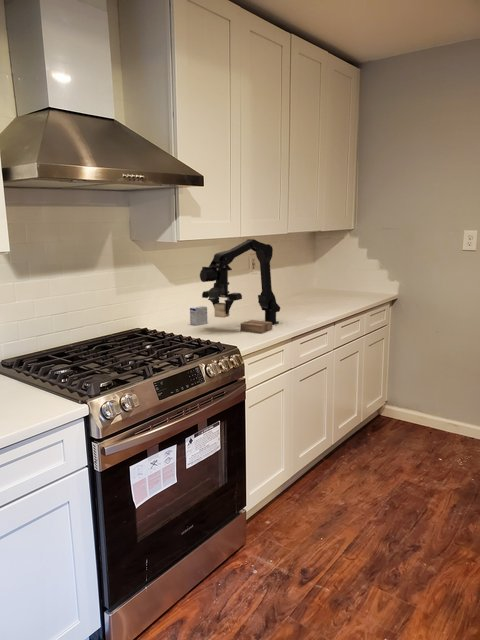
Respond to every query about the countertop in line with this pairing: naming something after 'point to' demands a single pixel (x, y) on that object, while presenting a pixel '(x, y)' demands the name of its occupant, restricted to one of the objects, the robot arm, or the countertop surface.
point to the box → (198, 315)
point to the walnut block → (256, 326)
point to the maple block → (220, 310)
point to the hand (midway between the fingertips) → (221, 313)
